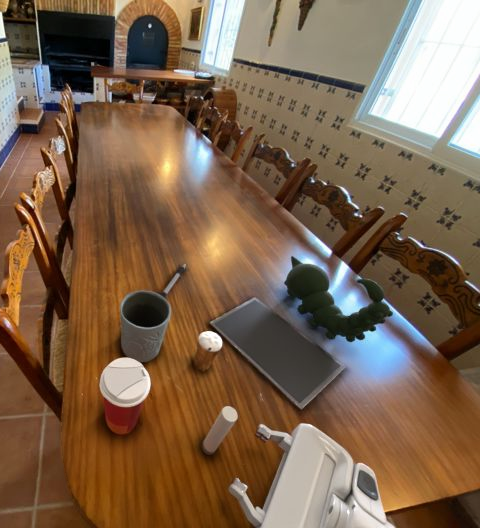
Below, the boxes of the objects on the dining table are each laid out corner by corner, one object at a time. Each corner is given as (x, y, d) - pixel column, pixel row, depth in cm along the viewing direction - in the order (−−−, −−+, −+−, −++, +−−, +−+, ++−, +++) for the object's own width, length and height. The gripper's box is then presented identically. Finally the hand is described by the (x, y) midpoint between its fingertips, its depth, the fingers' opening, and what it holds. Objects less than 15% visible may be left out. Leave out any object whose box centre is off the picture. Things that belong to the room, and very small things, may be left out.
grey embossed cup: (128, 371, 60) (132, 335, 53) (110, 333, 67) (112, 296, 60) (171, 355, 64) (181, 319, 56) (150, 321, 71) (156, 284, 63)
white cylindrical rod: (217, 449, 50) (241, 416, 42) (208, 457, 49) (230, 425, 41) (208, 438, 52) (229, 403, 43) (199, 445, 51) (218, 411, 42)
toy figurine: (356, 351, 70) (291, 275, 87) (418, 302, 56) (328, 223, 73) (324, 359, 68) (264, 279, 84) (380, 309, 54) (296, 226, 71)
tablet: (344, 368, 64) (346, 366, 63) (299, 411, 56) (301, 409, 56) (253, 298, 79) (254, 296, 78) (208, 324, 71) (209, 322, 71)
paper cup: (134, 392, 57) (141, 349, 48) (148, 433, 52) (159, 394, 43) (94, 403, 55) (94, 361, 46) (105, 447, 49) (106, 409, 40)
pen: (159, 298, 77) (159, 294, 76) (183, 264, 88) (183, 261, 87) (163, 300, 76) (164, 296, 76) (187, 266, 88) (188, 263, 87)
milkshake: (187, 372, 61) (198, 343, 55) (192, 351, 65) (202, 322, 59) (209, 380, 60) (223, 352, 54) (213, 359, 64) (226, 330, 57)
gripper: (316, 638, 33) (205, 529, 39) (350, 474, 45) (262, 412, 52) (346, 640, 29) (218, 518, 35) (375, 459, 41) (276, 394, 48)
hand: (245, 454), depth 44 cm, fingers open, 8 cm apart
